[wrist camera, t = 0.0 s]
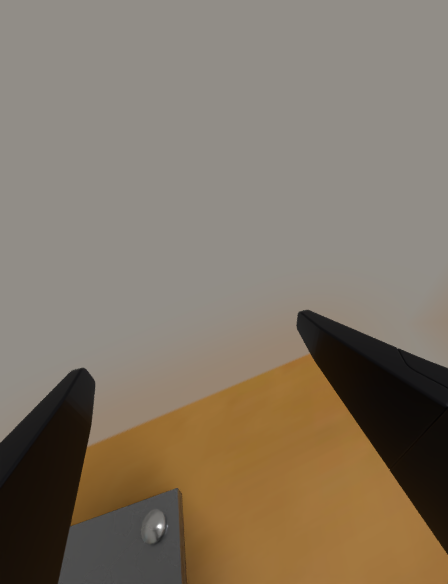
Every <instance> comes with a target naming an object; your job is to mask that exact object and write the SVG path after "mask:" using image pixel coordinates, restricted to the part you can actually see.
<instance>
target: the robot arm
mask: <svg viewBox="0 0 448 584" xmlns="http://www.w3.org/2000/svg"><path fill="white" fill-rule="evenodd" d="M297 330H298V331H299V333H300V335H301V337H302V339H303V341H304V343H305V345H306V346H307V348H308V350H309V352H310V354H311V356H312V357H313V359H314V361H315V362H316V364H317V365H318V367H319V368H320V369H321V371H322V372H323V374H324V375H325V377H326V378H327V380H328V381H329V383H330V384H331V385H332V387H333V388H334V390H335V391H336V393H337V394H338V396H339V397H340V399H341V400H342V401H343V403H344V404H345V406H346V407H347V409H348V410H349V412H350V413H351V415H352V416H353V417H354V419H355V420H356V422H357V423H358V425H359V426H360V428H361V429H362V431H363V432H364V433H365V435H366V436H367V438H368V439H369V441H370V442H371V444H372V445H373V447H374V448H375V449H376V451H377V452H378V454H379V455H380V457H381V458H382V460H383V461H384V462H385V464H386V465H387V467H388V468H389V469H390V471H391V473H392V474H393V476H394V477H395V479H396V480H397V482H398V483H399V485H400V486H401V487H402V489H403V490H404V492H405V493H406V495H407V496H408V498H409V499H410V501H411V502H412V503H413V505H414V506H415V508H416V509H417V511H418V512H419V514H420V515H421V517H422V518H423V519H424V521H425V522H426V524H427V525H428V527H429V528H430V530H431V531H432V533H433V534H434V535H435V537H436V538H437V540H438V541H439V543H440V544H441V546H442V547H443V548H444V550H445V551H446V553H447V554H448V368H446V367H443V366H440V365H438V364H435V363H433V362H430V361H427V360H425V359H423V358H420V357H418V356H415V355H413V354H411V353H408V352H406V351H404V350H401V349H397V348H396V347H394V346H392V345H389V344H387V343H385V342H382V341H380V340H378V339H375V338H373V337H371V336H368V335H366V334H363V333H361V332H359V331H357V330H354V329H352V328H349V327H347V326H345V325H343V324H340V323H338V322H335V321H333V320H331V319H328V318H326V317H324V316H321V315H319V314H317V313H314V312H312V311H310V310H303V311H300V312H299V313H298V317H297ZM94 394H95V381H94V379H93V378H92V376H91V375H90V374H89V372H88V371H87V370H86V369H85V368H80V369H75V370H73V371H71V372H70V373H69V374H68V375H67V376H66V377H65V378H64V379H63V380H62V381H61V382H60V383H59V384H58V385H57V386H56V387H55V388H54V389H53V390H52V391H51V392H50V393H49V394H48V395H47V396H46V397H45V398H44V399H43V400H42V401H41V402H40V403H39V404H38V405H37V406H36V407H35V408H34V409H33V410H32V411H31V413H29V414H28V415H27V416H26V417H25V418H24V419H23V420H22V421H21V422H20V423H19V424H18V426H16V427H15V429H14V430H13V431H12V432H11V433H10V434H9V435H8V436H7V437H6V438H5V439H4V440H3V441H2V442H1V443H0V584H58V581H59V577H60V572H61V567H62V562H63V558H64V553H65V548H66V543H67V539H68V534H69V529H70V525H71V520H72V515H73V510H74V506H75V501H76V496H77V491H78V487H79V482H80V477H81V472H82V468H83V463H84V458H85V453H86V449H87V444H88V439H89V434H90V429H91V422H92V414H93V404H94Z"/></svg>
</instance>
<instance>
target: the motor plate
mask: <svg viewBox="0 0 448 584" xmlns="http://www.w3.org/2000/svg"><path fill="white" fill-rule="evenodd" d="M58 584H187V579H186V561H185V542H184V524H183V506H182V493H181V492H180V490H179V489H178V488H176V489H173V490H171V491H168V492H165V493H162V494H159V495H157V496H154V497H151V498H148V499H146V500H143V501H140V502H137V503H134V504H132V505H129V506H126V507H123V508H121V509H118V510H115V511H112V512H109V513H107V514H104V515H101V516H98V517H96V518H93V519H90V520H87V521H84V522H82V523H79V524H76V525H73V526H71V527H70V529H69V534H68V539H67V543H66V548H65V553H64V558H63V562H62V567H61V572H60V577H59V581H58Z"/></svg>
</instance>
